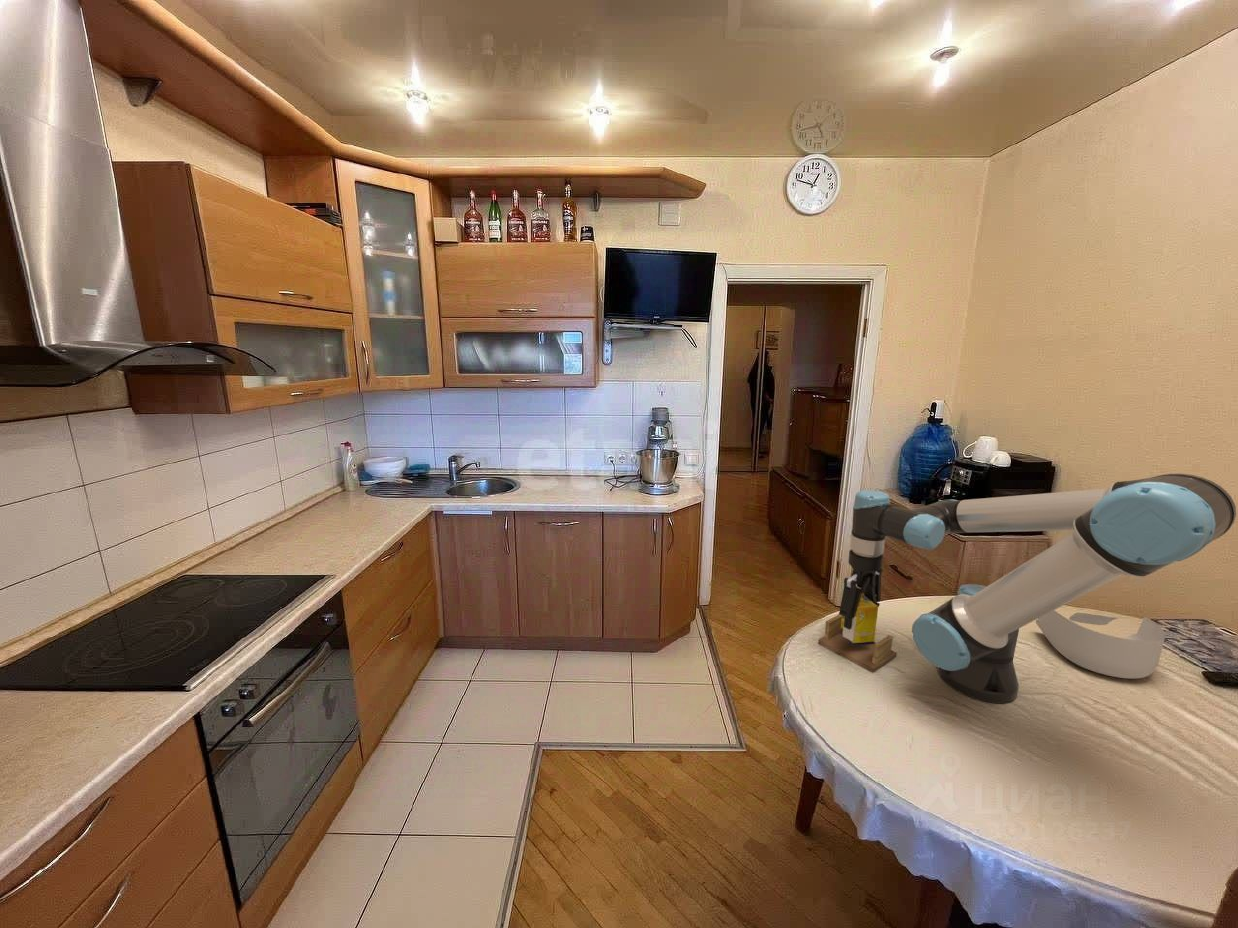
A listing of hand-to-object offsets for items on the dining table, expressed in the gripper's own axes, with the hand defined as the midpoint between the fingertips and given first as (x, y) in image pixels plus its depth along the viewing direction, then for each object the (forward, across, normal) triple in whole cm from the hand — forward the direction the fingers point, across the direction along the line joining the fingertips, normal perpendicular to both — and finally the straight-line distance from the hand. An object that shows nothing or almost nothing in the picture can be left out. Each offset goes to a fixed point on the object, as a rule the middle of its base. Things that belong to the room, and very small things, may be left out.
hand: (857, 632), depth 124 cm
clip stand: (+5, 0, 0) cm, 5 cm away
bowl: (+5, -44, +37) cm, 58 cm away
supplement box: (+2, 0, 0) cm, 2 cm away
